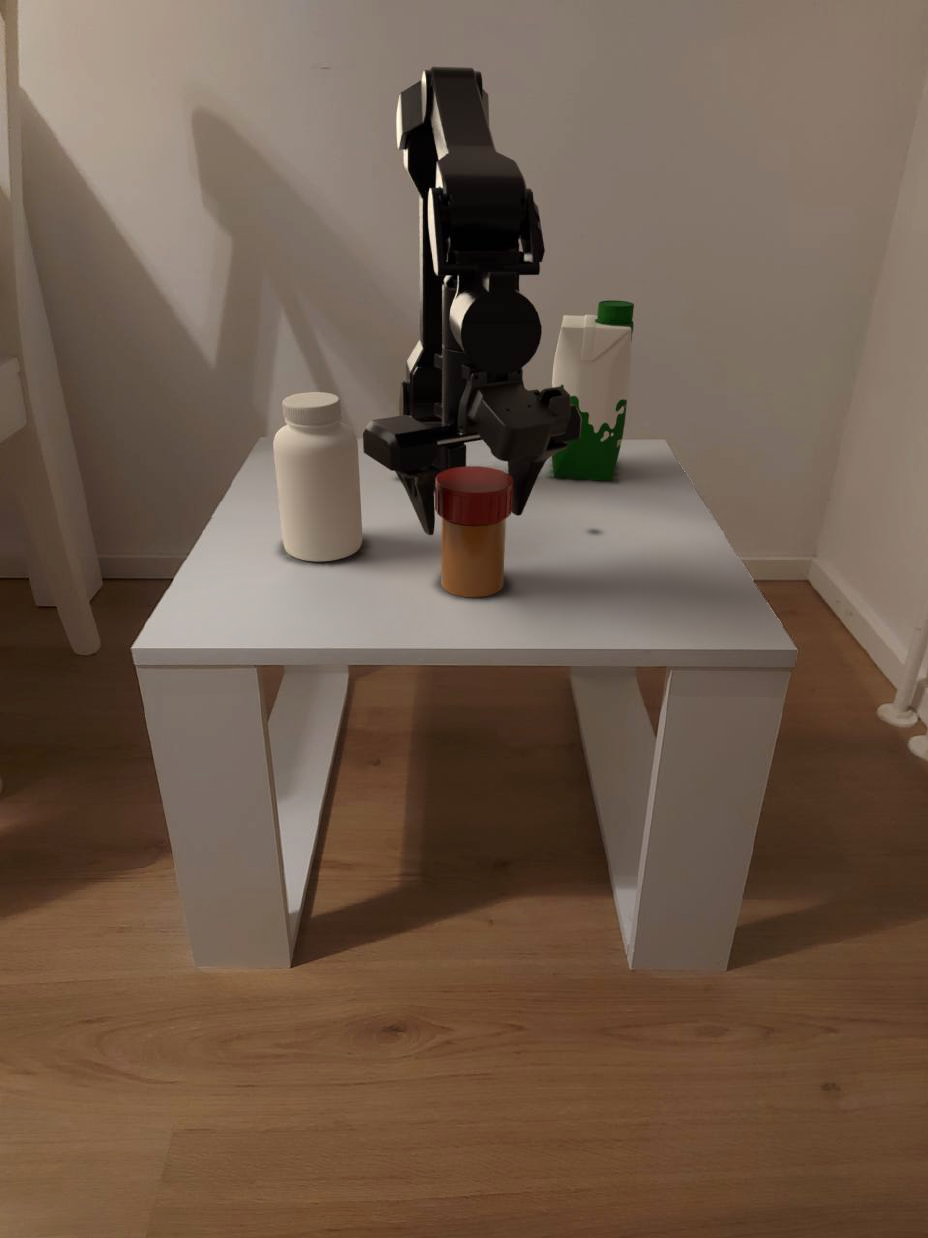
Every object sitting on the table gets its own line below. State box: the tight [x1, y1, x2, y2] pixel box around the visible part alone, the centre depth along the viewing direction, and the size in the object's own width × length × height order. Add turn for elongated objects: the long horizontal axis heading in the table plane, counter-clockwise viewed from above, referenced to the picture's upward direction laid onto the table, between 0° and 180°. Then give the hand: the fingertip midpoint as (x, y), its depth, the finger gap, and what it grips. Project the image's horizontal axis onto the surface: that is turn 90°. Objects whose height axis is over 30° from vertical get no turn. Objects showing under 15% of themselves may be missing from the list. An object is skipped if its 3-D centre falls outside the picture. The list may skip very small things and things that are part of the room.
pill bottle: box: [272, 391, 363, 562], centre depth 84 cm, size 8×8×15 cm
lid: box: [434, 465, 514, 525], centre depth 77 cm, size 7×7×3 cm
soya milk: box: [551, 299, 635, 482], centre depth 104 cm, size 9×9×20 cm
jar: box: [440, 517, 507, 599], centre depth 79 cm, size 6×6×10 cm
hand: (473, 523), depth 78 cm, fingers open, 9 cm apart
